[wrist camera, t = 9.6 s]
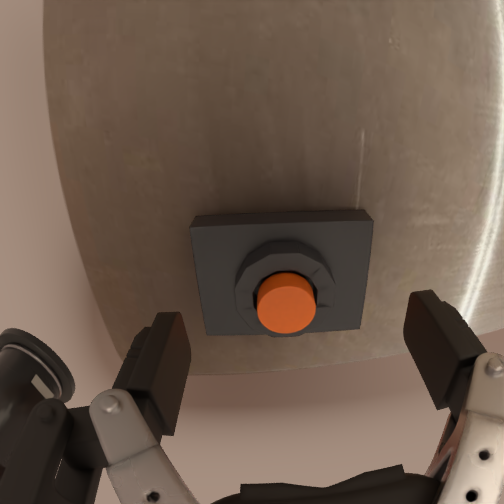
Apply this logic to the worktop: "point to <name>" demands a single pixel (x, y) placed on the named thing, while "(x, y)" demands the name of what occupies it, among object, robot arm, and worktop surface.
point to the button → (285, 303)
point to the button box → (281, 266)
